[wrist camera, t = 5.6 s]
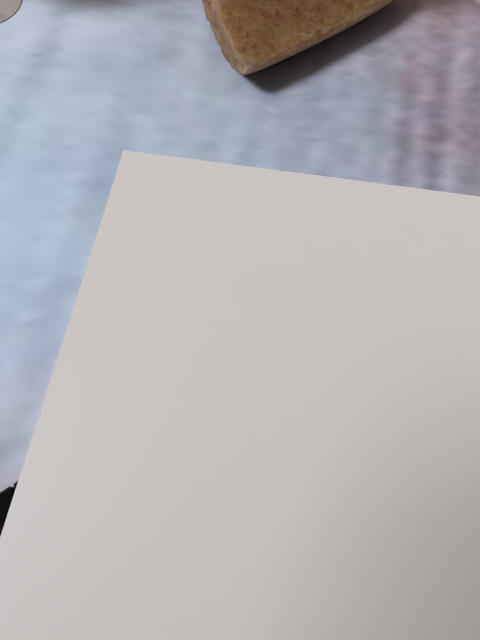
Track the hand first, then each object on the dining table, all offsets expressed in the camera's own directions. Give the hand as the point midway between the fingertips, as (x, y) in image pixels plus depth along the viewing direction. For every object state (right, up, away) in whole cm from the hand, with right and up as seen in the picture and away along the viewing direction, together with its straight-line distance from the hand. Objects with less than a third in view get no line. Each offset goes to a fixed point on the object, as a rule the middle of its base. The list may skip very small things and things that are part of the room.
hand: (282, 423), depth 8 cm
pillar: (0, -2, +6) cm, 7 cm away
